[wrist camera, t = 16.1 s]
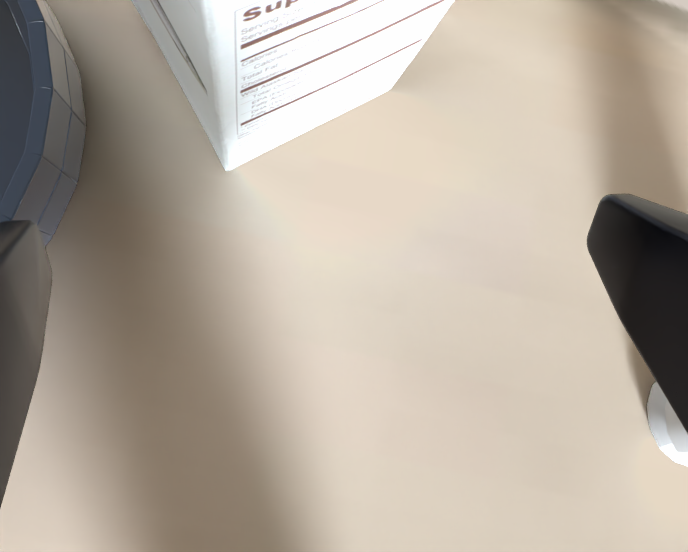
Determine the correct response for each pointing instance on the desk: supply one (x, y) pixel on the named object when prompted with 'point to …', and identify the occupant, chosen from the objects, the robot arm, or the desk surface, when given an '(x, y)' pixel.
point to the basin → (38, 116)
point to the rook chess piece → (667, 426)
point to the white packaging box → (284, 61)
